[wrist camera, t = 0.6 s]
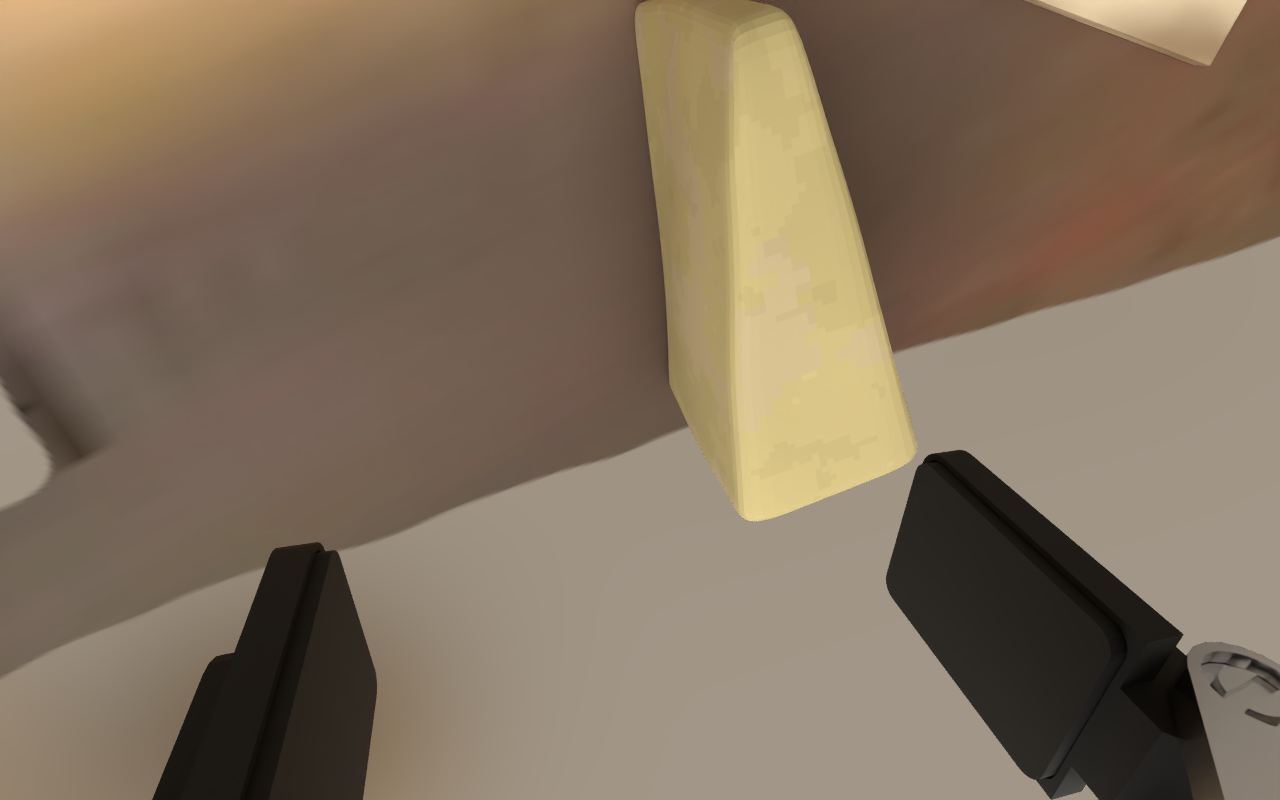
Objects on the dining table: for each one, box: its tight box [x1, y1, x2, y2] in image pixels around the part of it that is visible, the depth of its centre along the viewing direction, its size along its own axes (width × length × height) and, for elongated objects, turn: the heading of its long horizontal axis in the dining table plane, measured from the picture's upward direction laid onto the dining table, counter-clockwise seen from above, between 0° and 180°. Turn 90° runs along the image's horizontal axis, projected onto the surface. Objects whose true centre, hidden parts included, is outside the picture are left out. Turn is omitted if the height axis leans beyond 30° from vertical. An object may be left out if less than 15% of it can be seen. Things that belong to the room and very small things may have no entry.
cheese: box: [635, 0, 917, 521], centre depth 31 cm, size 22×10×15 cm, turn 16°
